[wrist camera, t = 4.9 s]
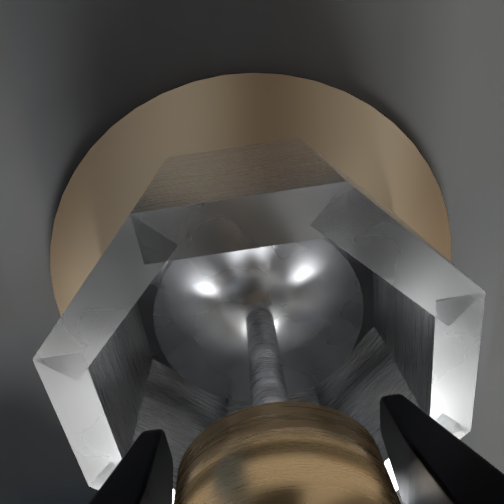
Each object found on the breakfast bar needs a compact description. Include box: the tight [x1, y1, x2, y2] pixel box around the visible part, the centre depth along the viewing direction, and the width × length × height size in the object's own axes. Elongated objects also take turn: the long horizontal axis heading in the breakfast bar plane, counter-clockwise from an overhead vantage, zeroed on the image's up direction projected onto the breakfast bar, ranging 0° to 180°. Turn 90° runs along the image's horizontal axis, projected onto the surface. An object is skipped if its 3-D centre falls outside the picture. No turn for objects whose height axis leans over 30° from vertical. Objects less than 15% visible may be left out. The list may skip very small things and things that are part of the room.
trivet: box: [50, 73, 451, 316], centre depth 14 cm, size 13×13×1 cm
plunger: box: [153, 238, 401, 504], centre depth 9 cm, size 6×6×7 cm
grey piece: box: [33, 137, 486, 504], centre depth 12 cm, size 9×12×5 cm
